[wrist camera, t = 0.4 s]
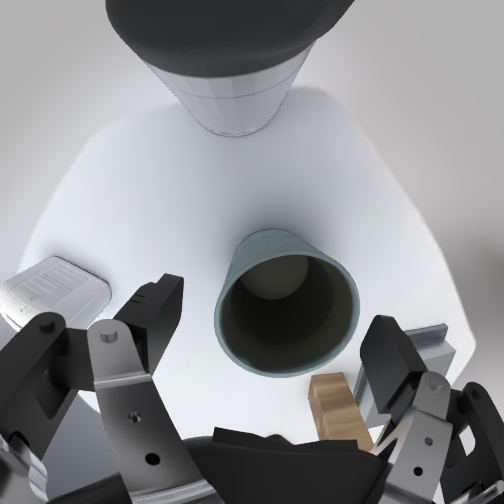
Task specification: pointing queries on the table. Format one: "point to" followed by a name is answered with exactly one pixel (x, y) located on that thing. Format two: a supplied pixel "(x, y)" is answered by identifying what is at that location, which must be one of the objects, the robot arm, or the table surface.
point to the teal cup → (284, 306)
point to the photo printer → (53, 294)
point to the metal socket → (433, 355)
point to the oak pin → (337, 411)
